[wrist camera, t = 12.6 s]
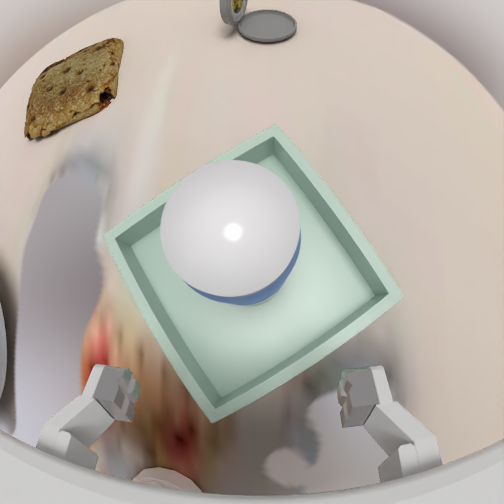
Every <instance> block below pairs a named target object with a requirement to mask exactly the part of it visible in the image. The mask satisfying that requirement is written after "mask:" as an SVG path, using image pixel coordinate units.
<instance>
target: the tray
mask: <svg viewBox="0 0 504 504" xmlns="http://www.w3.org/2000/svg"><path fill="white" fill-rule="evenodd" d="M225 160H240V161H247V162H251V163H254V164H257V165H260V166H262V167H264V168H266V169H268V170H269V171H271V172H272V173H274V174H275V175H276V176H278V177H279V178H280V179H281V180H282V181H283V182H284V183H285V185H286V186H287V187H288V188H289V190H290V191H291V193H292V195H293V197H294V199H295V201H296V204H297V207H298V210H299V216H300V229H301V245H300V251H299V255H298V258H297V261H296V263H295V266H294V267H293V269H292V271H291V273H290V274H289V276H288V277H287V279H286V280H285V282H284V284H283V285H282V287H281V288H280V290H279V291H278V293H277V294H276V295H275V296H274V297H273V298H272V299H270V300H269V301H267V302H266V303H263V304H261V305H257V306H241V305H235V304H228V303H222V302H217V301H214V300H210V299H208V298H206V297H204V296H202V295H200V294H199V293H197V292H195V291H194V290H193V289H192V288H190V287H189V286H188V285H187V284H186V283H185V282H184V280H183V279H182V278H180V277H179V276H178V274H177V273H176V272H175V271H174V270H173V268H172V267H171V265H170V264H169V262H168V260H167V258H166V256H165V254H164V251H163V248H162V243H161V236H160V225H161V218H162V213H163V210H164V207H165V204H166V202H167V200H168V198H169V196H170V195H171V193H172V192H173V190H174V189H175V188H176V186H177V185H178V184H179V183H180V182H181V181H182V180H183V179H182V180H180V181H179V182H177V183H176V184H174V185H173V186H171V187H170V188H168V189H167V190H165V191H164V192H162V193H161V194H159V195H158V196H157V197H155V198H154V199H152V200H151V201H149V202H148V203H146V204H145V205H144V206H142V207H141V208H139V209H138V210H137V211H135V212H134V213H132V214H131V215H130V216H128V217H127V218H126V219H124V220H123V221H121V222H120V223H119V224H117V225H116V226H115V227H113V228H112V229H111V230H109V231H108V232H107V233H106V234H104V235H103V238H104V240H105V242H106V245H107V247H108V249H109V251H110V253H111V255H112V258H113V260H114V262H115V264H116V266H117V268H118V270H119V272H120V274H121V276H122V278H123V280H124V282H125V284H126V286H127V288H128V290H129V292H130V294H131V296H132V298H133V300H134V301H135V303H136V305H137V307H138V309H139V311H140V313H141V314H142V316H143V318H144V320H145V322H146V323H147V325H148V327H149V329H150V330H151V332H152V334H153V336H154V337H155V339H156V341H157V342H158V344H159V346H160V347H161V349H162V351H163V352H164V354H165V356H166V357H167V359H168V360H169V362H170V364H171V365H172V367H173V368H174V370H175V371H176V373H177V375H178V376H179V378H180V379H181V381H182V382H183V384H184V385H185V387H186V388H187V390H188V391H189V393H190V394H191V395H192V397H193V398H194V400H195V401H196V403H197V404H198V406H199V407H200V408H201V410H202V411H203V413H204V414H205V415H206V417H207V418H208V419H209V421H210V422H211V424H213V423H215V422H217V421H218V420H220V419H222V418H224V417H226V416H228V415H230V414H232V413H234V412H236V411H237V410H239V409H241V408H243V407H245V406H247V405H248V404H250V403H252V402H254V401H255V400H257V399H259V398H261V397H262V396H264V395H266V394H267V393H269V392H271V391H273V390H274V389H276V388H277V387H279V386H281V385H282V384H284V383H286V382H287V381H289V380H290V379H292V378H294V377H295V376H297V375H298V374H300V373H301V372H303V371H305V370H306V369H308V368H309V367H311V366H312V365H314V364H315V363H317V362H318V361H320V360H321V359H322V358H324V357H325V356H327V355H328V354H330V353H331V352H333V351H334V350H335V349H337V348H338V347H340V346H341V345H342V344H344V343H345V342H347V341H348V340H349V339H351V338H352V337H353V336H355V335H356V334H357V333H359V332H360V331H361V330H363V329H364V328H365V327H367V326H368V325H369V324H371V323H372V322H373V321H374V320H376V319H377V318H378V317H379V316H381V315H382V314H383V313H384V312H386V311H387V310H388V309H389V308H391V307H392V306H393V305H394V304H395V303H397V302H398V301H399V300H400V299H401V298H403V297H404V296H403V294H402V292H401V291H400V289H399V287H398V286H397V284H396V283H395V281H394V279H393V278H392V276H391V275H390V273H389V272H388V270H387V269H386V267H385V265H384V264H383V262H382V261H381V259H380V258H379V256H378V255H377V253H376V252H375V250H374V249H373V248H372V246H371V245H370V243H369V242H368V240H367V239H366V237H365V236H364V234H363V233H362V232H361V230H360V229H359V227H358V226H357V225H356V223H355V222H354V220H353V219H352V218H351V216H350V215H349V213H348V212H347V211H346V209H345V208H344V207H343V205H342V204H341V203H340V201H339V200H338V199H337V197H336V196H335V195H334V193H333V192H332V191H331V189H330V188H329V187H328V186H327V184H326V183H325V182H324V180H323V179H322V178H321V177H320V175H319V174H318V173H317V172H316V170H315V169H314V168H313V167H312V165H311V164H310V163H309V162H308V160H307V159H306V158H305V157H304V156H303V154H302V153H301V152H300V151H299V150H298V148H297V147H296V146H295V145H294V144H293V142H292V141H291V140H290V139H289V138H288V137H287V135H286V134H285V133H284V132H283V131H282V130H281V129H280V127H279V126H278V125H277V124H275V125H273V126H271V127H269V128H268V129H266V130H264V131H262V132H260V133H258V134H257V135H255V136H253V137H251V138H249V139H248V140H246V141H244V142H242V143H241V144H239V145H237V146H236V147H234V148H232V149H230V150H229V151H227V152H225V153H224V154H222V155H220V156H219V157H217V158H215V159H214V160H212V161H210V162H209V163H207V164H206V165H208V164H211V163H214V162H218V161H225ZM204 166H205V165H204ZM202 167H203V166H202Z"/></svg>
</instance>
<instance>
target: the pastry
mask: <svg viewBox="0 0 504 504" xmlns="http://www.w3.org/2000/svg"><path fill="white" fill-rule="evenodd" d="M122 52H123V41H122V40H121V39H117V38H111V39H106V40H104V41H102V42H99V43H96V44H94V45H91V46H89V47H86V48H84V49H82V50H80V51H78V52H76V53H74V54H72V55H70V56H69V57H67V58H66V59H63V60H61V61H59V62H55V63H53V64H51V65H50V66H48V67H47V68H46V69H45V70H44V71H43V72H42V73H41V74H40V76H39V77H38V78H37V79H36V82H35V84H34V85H33V87H32V92H31V95H30V97H29V102H28V105H27V113H26V122H25V123H26V124H25V128H24V134H25V138H26V136H27V138H29V139H30V138H32V139H34V138H37V137H38V136H43V137H45V136H47V135H49V134H50V131H53V130H54V131H56V130H58V129H60V128H62V127H65V126H67V125H69V124H71V123H74V122H76V121H78V120H82V119H84V118H86V117H88V116H91V115H94V114H96V113H97V112H100V111H101V110H103V109H104V108H106V107H107V106H108V105H109V104H110V103H111V102H110V100H111V99H112V98H113V99H115V97H116V93H117V84H118V82H117V80H118V71H119V68H120V62H121V58H122ZM110 96H111V97H110ZM109 97H110V98H109Z"/></svg>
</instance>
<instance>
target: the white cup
mask: <svg viewBox="0 0 504 504" xmlns="http://www.w3.org/2000/svg"><path fill="white" fill-rule="evenodd" d="M131 481H135V482H140V483H144V484H149V485H154V486H160V487H165V488H171V489H178V490H184V491H192V492H201V493H202V491H201V490H200V489H199V488H198V487H197V485H196V484H195V483H194V482H193V481H192V480H191V479H189V478H187V477H186V476H184V475H182V474H180V473H178V472H177V471H174V470H169V469H165V468H160V467H155V468H148V469H144V470H142V471H141V472H140V473H139V474H137V475H136V476H135V477H134V478H133V479H132V480H131Z"/></svg>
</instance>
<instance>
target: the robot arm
mask: <svg viewBox="0 0 504 504" xmlns="http://www.w3.org/2000/svg"><path fill="white" fill-rule="evenodd" d="M341 377H342V380H340V381H339V384H338V402H339V404H340V405H341V406H342V407H343V408H342V410H341V412H340V415H341V422H342V427H343V428H344V427H353V426H362V425H364V426H363V427H364V428H365V429H366V430H367V431H368V433H369V434H370V435H371V436H372V437H373V438H374V440H375V441H376V442H377V443H378V444H379V445H380V447H381V448H382V449H383V450H384V451H385V452H386V454H387V455H388V456H389V457H388V458H387V459H386V460H385V461H384V462H383V463H382V464H381V465H380V466H379V467H378V470H379V477H380V483H378V484H372V485H367V486H362V487H357V488H351V489H344V490H337V491H330V492H321V493H311V494H298V495H276V496H246V495H224V494H211V493H201V492H192V491H184V490H178V489H171V488H165V487H160V486H154V485H149V484H144V483H140V482H135V481H131V480H127V479H123V478H119V477H115V476H112V475H108V474H105V473H101V472H98V471H95V468H96V464H97V460H98V456H97V454H96V453H94V452H93V451H92V450H90V449H89V448H90V446H91V445H92V444H93V443H94V442H95V441H96V440H97V439H98V438H99V437H100V436H101V435H102V434H103V433H104V431H105V430H106V429H107V428H108V427H109V426H110V425H111V424H112V423H113V422H114V420H120V421H126V422H132V420H133V416H134V412H135V407H134V405H133V404H134V403H135V402H136V401H137V400H138V398H139V393H140V387H139V383H138V381H137V380H136V379H135V378H134V377H132V372H131V370H130V369H129V368H120V367H113V366H107V365H100V364H96V365H95V366H94V367H93V369H92V372H91V374H90V376H89V379H88V381H87V384H86V386H85V389H84V391H83V394H82V395H79V396H77V397H76V398H75V399H74V400H73V401H71V402H70V403H69V404H68V405H66V406H65V407H64V408H63V409H62V410H60V411H59V412H58V413H57V414H55V415H54V416H53V417H52V418H51V419H50V420H48V421H47V422H46V423H45V424H44V426H43V429H42V432H41V434H40V438H39V440H38V443H37V446H36V448H35V447H33V446H30V445H28V444H26V443H24V442H22V441H20V440H18V439H16V438H14V437H12V436H10V435H9V434H7V433H5V432H3V431H1V430H0V504H504V439H502V440H500V441H498V442H496V443H494V444H492V445H490V446H488V447H485V448H483V449H481V450H479V451H477V452H474V453H472V454H470V455H467V456H465V457H462V458H460V459H457V460H455V461H452V462H449V463H447V464H444V465H442V461H441V457H440V452H439V448H438V445H437V441H436V437H435V435H434V434H433V433H432V432H430V431H429V430H428V429H427V428H426V427H425V426H424V425H423V424H421V423H420V422H419V421H418V420H417V419H416V418H415V417H414V416H413V415H411V414H410V413H409V412H408V411H407V410H406V409H405V408H404V407H403V406H401V405H400V404H399V403H398V402H397V401H394V402H393V399H392V396H391V392H390V388H389V385H388V381H387V378H386V374H385V371H384V368H383V367H382V366H381V365H379V366H372V367H363V368H356V369H348V370H343V371H342V374H341Z"/></svg>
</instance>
